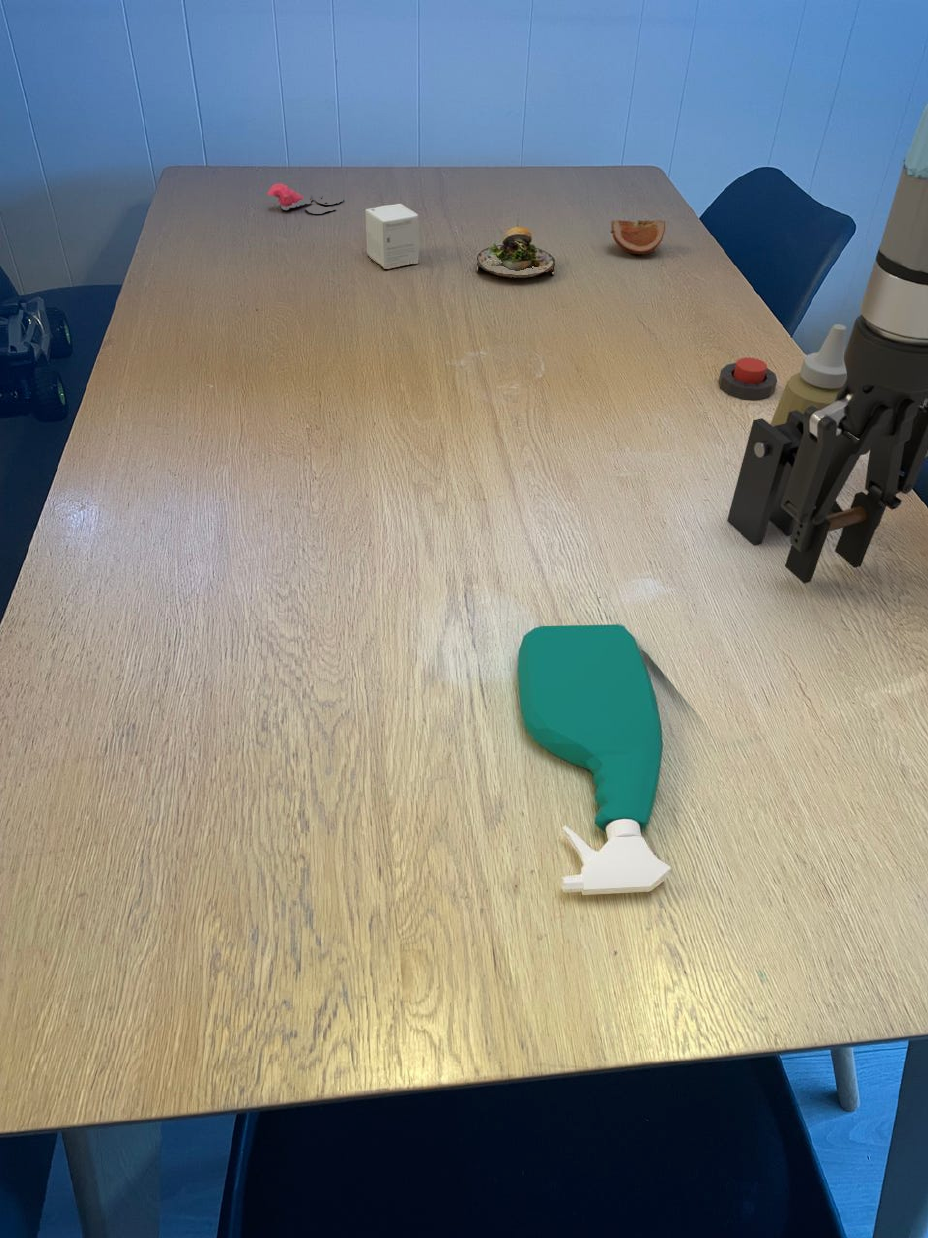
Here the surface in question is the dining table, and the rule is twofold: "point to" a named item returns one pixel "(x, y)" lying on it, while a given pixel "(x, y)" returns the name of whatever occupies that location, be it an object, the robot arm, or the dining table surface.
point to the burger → (516, 254)
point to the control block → (746, 385)
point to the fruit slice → (638, 235)
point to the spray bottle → (599, 742)
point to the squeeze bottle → (815, 378)
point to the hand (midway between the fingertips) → (823, 565)
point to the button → (750, 370)
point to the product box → (392, 234)
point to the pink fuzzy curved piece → (284, 194)
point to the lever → (835, 514)
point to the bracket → (763, 482)
